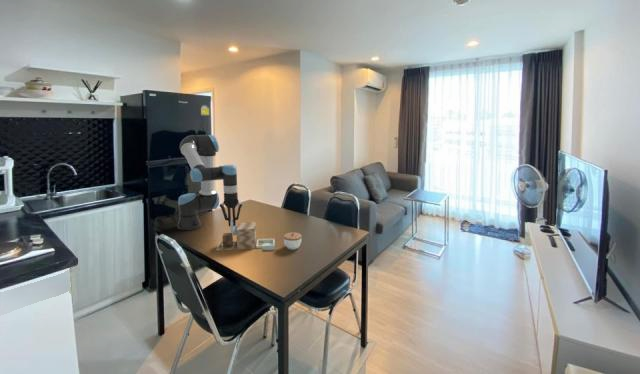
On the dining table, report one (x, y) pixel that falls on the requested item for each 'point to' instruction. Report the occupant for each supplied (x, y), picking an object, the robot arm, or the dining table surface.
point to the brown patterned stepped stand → (243, 237)
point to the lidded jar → (292, 240)
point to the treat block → (227, 240)
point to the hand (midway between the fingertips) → (232, 231)
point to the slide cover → (235, 230)
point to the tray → (266, 244)
